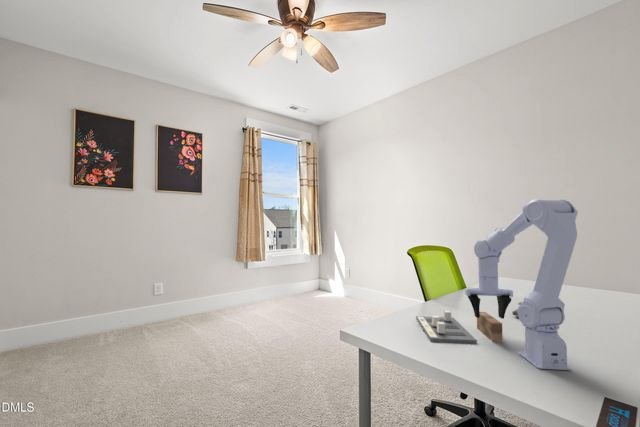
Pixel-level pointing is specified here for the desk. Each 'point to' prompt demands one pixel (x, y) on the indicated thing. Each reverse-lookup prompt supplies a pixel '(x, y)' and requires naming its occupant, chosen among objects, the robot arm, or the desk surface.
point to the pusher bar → (490, 327)
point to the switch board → (452, 331)
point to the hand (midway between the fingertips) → (489, 317)
